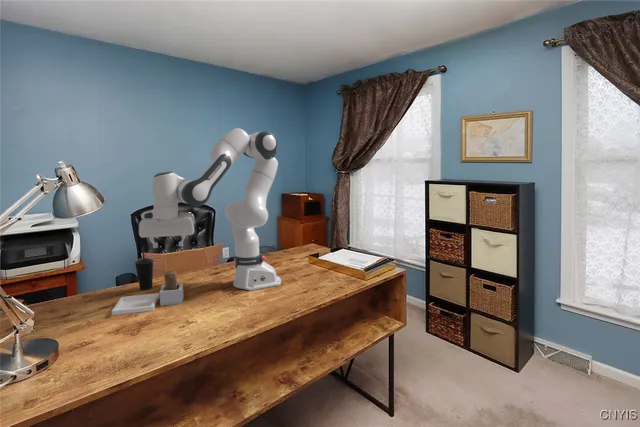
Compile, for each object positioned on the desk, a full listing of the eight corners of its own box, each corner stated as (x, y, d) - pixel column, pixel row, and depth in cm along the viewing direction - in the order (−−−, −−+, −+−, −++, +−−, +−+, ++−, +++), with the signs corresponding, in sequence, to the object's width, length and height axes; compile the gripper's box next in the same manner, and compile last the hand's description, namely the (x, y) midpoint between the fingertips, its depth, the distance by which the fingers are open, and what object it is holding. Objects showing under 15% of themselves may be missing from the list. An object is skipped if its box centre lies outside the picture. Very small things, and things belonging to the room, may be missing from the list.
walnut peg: (178, 298, 144) (176, 270, 142) (177, 302, 140) (175, 273, 138) (167, 299, 142) (165, 271, 141) (166, 303, 139) (164, 274, 137)
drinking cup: (148, 293, 151) (144, 249, 148) (133, 292, 153) (129, 248, 150) (159, 287, 158) (156, 245, 155) (144, 286, 160) (141, 244, 157)
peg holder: (183, 297, 146) (182, 283, 145) (182, 305, 139) (181, 289, 138) (163, 300, 144) (162, 285, 143) (160, 307, 136) (159, 292, 135)
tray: (158, 298, 145) (158, 293, 145) (153, 312, 132) (152, 306, 132) (121, 302, 141) (121, 297, 141) (112, 317, 128) (111, 311, 128)
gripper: (194, 211, 142) (196, 243, 144) (140, 212, 136) (142, 246, 138) (193, 213, 136) (195, 247, 138) (136, 215, 130) (138, 250, 132)
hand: (168, 246), depth 138 cm, fingers open, 8 cm apart
